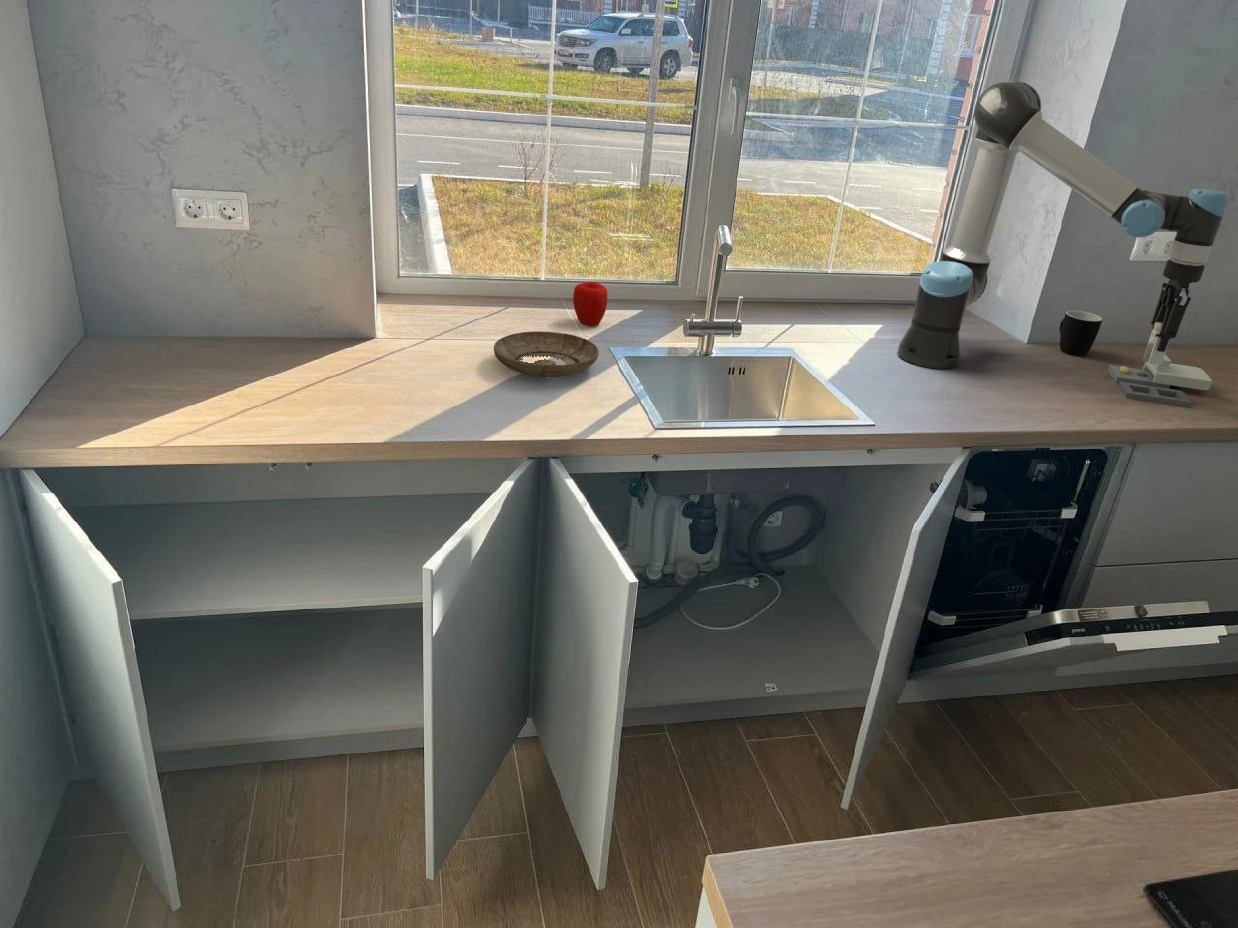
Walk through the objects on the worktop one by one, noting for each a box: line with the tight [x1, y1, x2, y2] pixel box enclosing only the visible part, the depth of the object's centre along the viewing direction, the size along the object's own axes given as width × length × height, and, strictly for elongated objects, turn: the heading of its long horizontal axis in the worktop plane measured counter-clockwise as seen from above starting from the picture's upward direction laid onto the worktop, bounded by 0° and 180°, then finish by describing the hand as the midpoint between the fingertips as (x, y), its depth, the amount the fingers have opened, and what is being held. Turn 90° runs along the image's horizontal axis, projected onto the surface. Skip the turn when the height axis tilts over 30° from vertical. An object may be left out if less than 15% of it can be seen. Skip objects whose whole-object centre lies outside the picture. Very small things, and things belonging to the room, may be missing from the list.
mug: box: [1059, 310, 1103, 357], centre depth 244 cm, size 12×9×10 cm
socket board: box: [1117, 382, 1193, 408], centre depth 218 cm, size 14×8×1 cm, turn 75°
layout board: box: [1107, 364, 1171, 389], centre depth 227 cm, size 12×9×3 cm
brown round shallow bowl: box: [493, 330, 600, 378], centre depth 204 cm, size 23×24×5 cm
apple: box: [572, 281, 608, 327], centre depth 233 cm, size 9×9×11 cm
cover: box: [1142, 354, 1214, 391], centre depth 224 cm, size 13×10×5 cm
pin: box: [1142, 322, 1163, 363], centre depth 213 cm, size 4×4×9 cm
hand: (1152, 360), depth 214 cm, fingers closed on pin, 3 cm apart
